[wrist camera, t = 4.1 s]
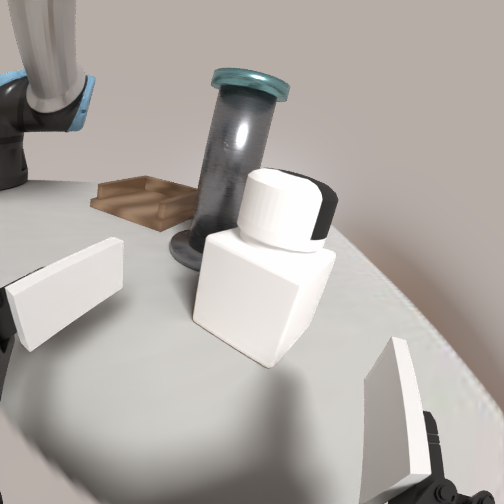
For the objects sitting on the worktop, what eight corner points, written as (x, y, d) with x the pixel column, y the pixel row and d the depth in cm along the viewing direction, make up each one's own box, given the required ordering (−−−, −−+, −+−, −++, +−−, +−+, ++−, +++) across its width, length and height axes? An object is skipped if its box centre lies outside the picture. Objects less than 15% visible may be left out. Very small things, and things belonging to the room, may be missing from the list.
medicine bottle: (242, 291, 26) (274, 164, 22) (309, 326, 23) (358, 191, 19) (190, 321, 20) (218, 158, 16) (269, 372, 17) (333, 193, 13)
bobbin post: (152, 253, 29) (187, 62, 21) (195, 230, 38) (225, 84, 30) (239, 286, 27) (291, 73, 19) (264, 253, 36) (304, 98, 28)
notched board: (90, 206, 37) (91, 184, 36) (143, 192, 50) (145, 174, 49) (160, 231, 35) (164, 205, 33) (206, 211, 47) (210, 191, 46)
